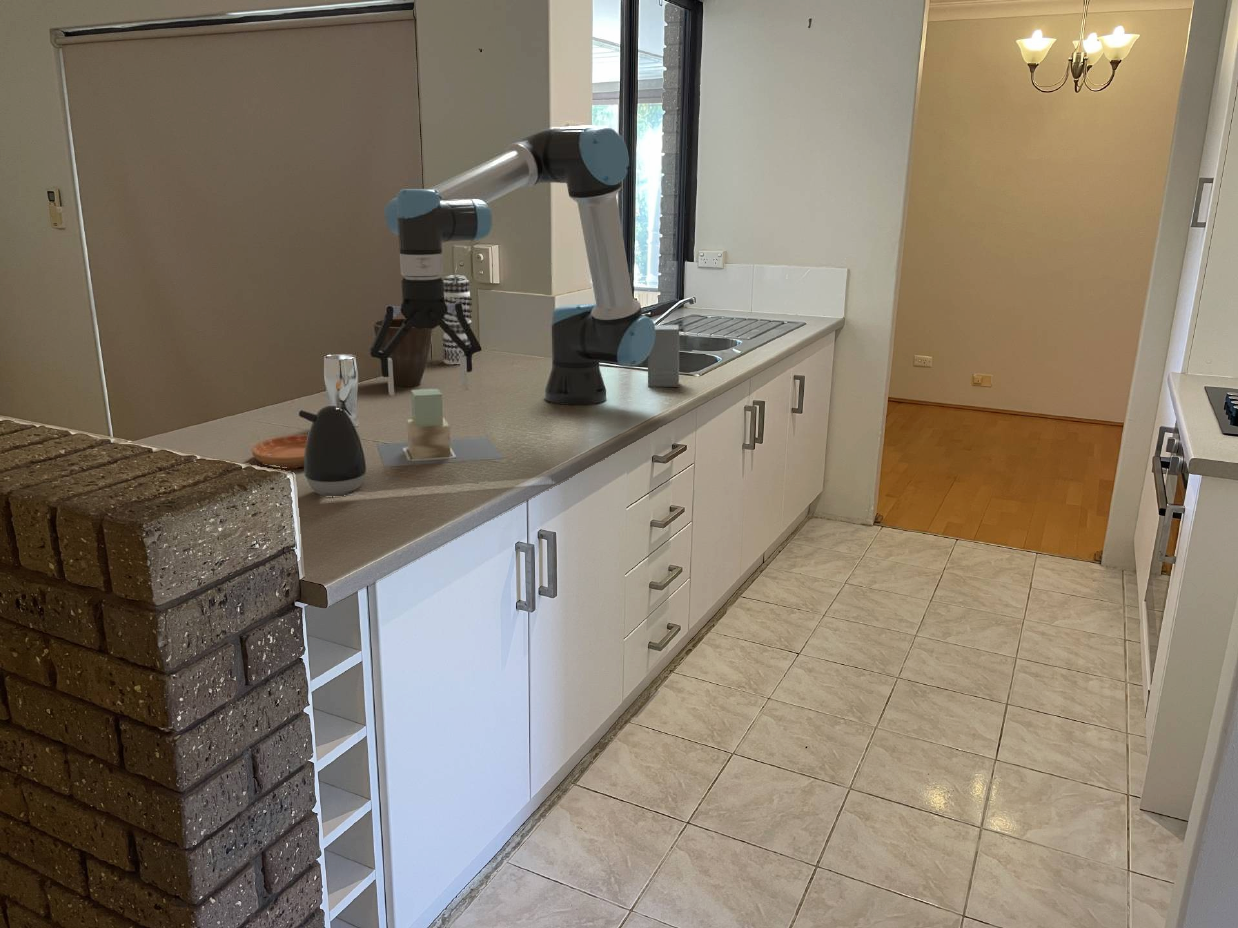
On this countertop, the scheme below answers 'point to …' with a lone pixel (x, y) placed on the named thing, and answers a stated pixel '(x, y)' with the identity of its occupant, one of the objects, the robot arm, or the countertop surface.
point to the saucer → (282, 451)
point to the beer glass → (342, 382)
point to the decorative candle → (455, 292)
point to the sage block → (427, 407)
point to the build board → (458, 453)
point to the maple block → (428, 440)
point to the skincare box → (664, 357)
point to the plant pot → (407, 353)
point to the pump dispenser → (333, 453)
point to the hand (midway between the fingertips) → (428, 391)
